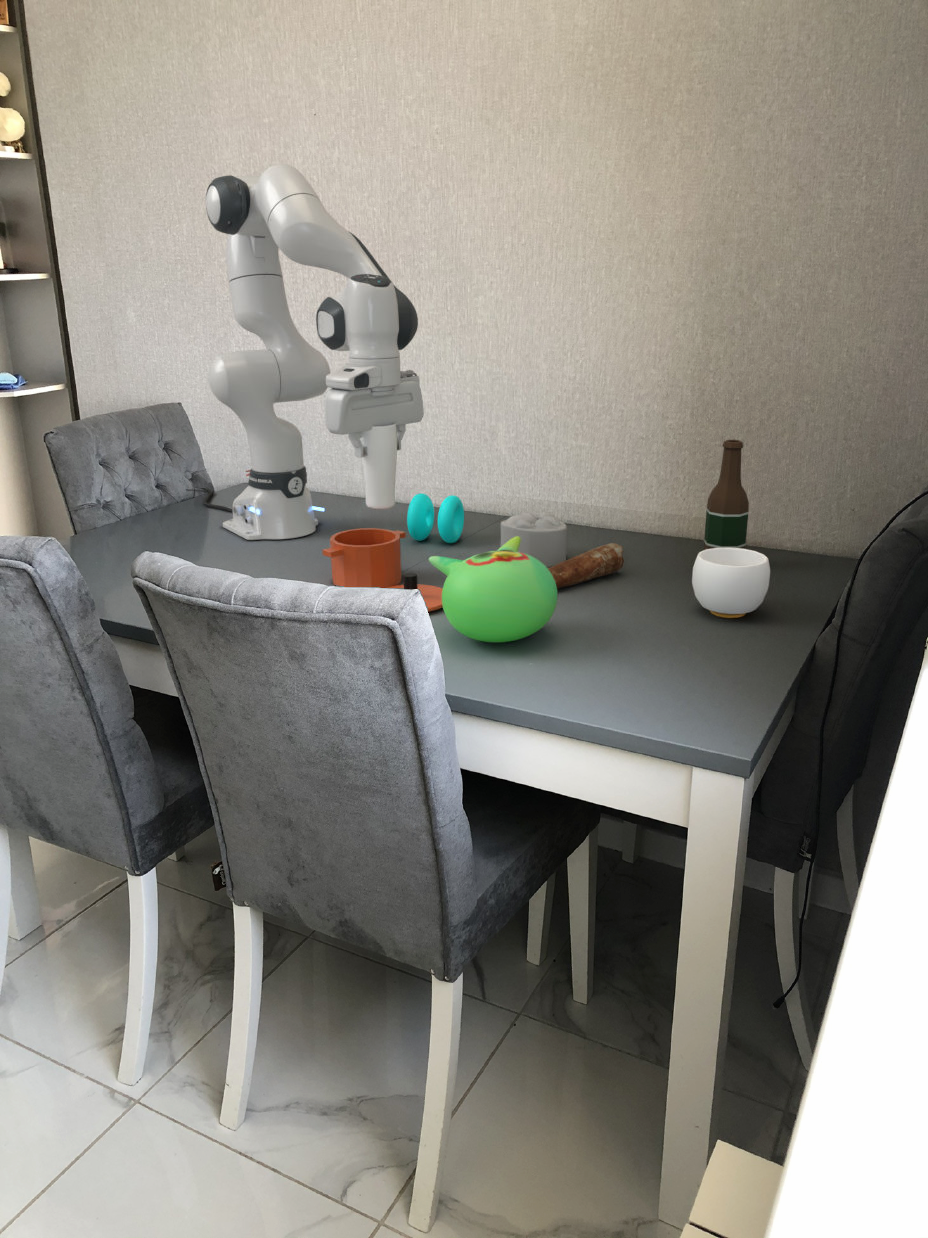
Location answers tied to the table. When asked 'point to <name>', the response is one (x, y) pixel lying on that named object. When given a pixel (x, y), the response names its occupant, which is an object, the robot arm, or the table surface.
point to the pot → (366, 557)
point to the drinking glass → (380, 466)
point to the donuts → (423, 518)
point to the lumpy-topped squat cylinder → (537, 536)
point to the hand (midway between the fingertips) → (378, 453)
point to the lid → (423, 591)
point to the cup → (730, 580)
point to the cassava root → (588, 565)
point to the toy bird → (497, 593)
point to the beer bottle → (727, 503)
